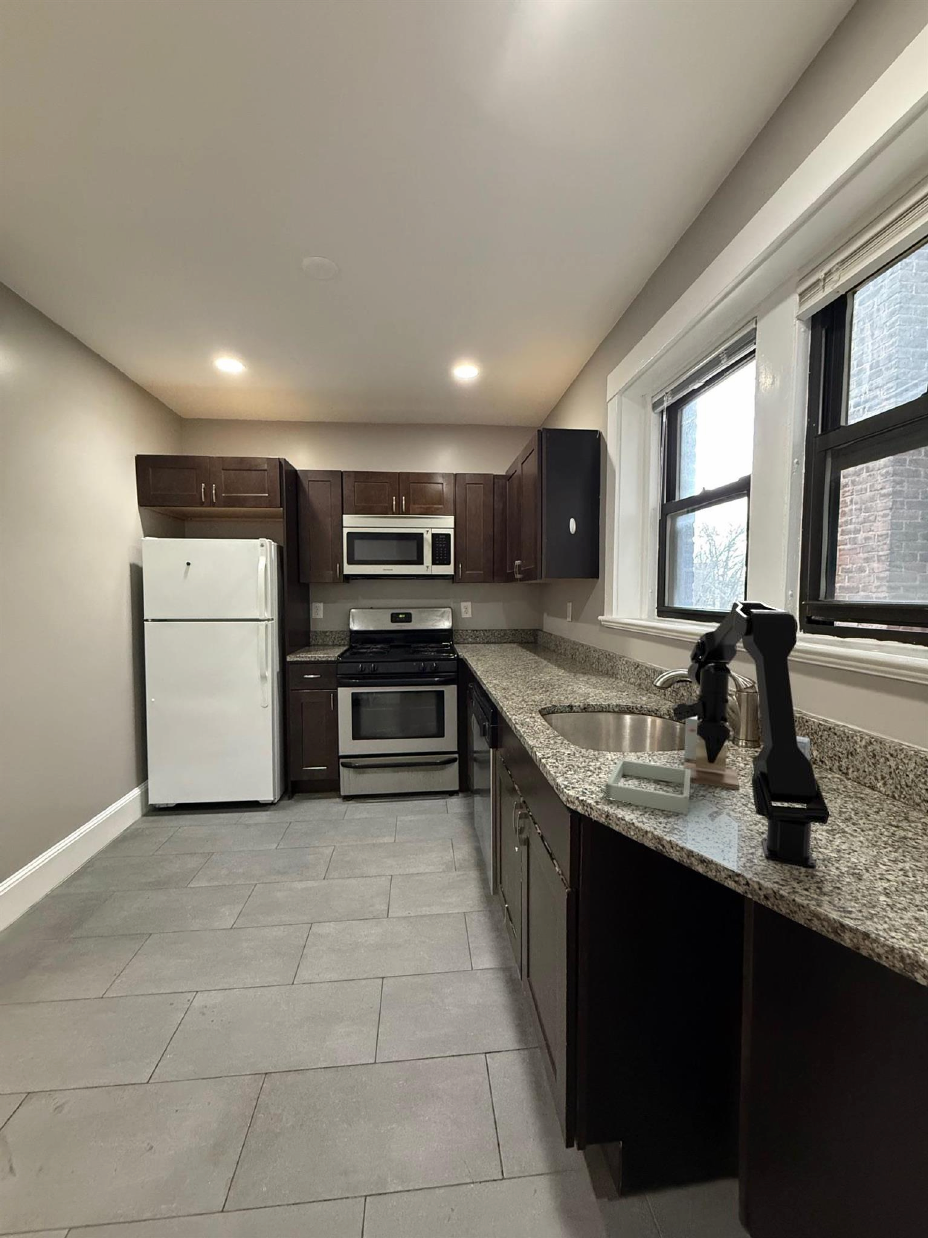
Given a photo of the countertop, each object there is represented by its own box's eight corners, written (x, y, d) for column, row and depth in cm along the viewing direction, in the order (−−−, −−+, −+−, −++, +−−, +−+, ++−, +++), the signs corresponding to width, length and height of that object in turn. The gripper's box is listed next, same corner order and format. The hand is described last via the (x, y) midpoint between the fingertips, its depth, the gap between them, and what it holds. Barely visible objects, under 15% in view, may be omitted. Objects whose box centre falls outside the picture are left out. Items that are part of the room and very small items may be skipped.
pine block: (725, 772, 111) (726, 745, 110) (695, 767, 113) (696, 741, 113) (724, 766, 115) (725, 740, 114) (695, 761, 117) (696, 736, 117)
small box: (721, 758, 128) (723, 717, 127) (718, 764, 123) (720, 722, 123) (687, 753, 132) (688, 713, 132) (683, 758, 127) (685, 717, 127)
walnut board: (739, 789, 107) (739, 785, 107) (682, 780, 111) (683, 776, 111) (736, 774, 117) (736, 769, 117) (684, 766, 121) (684, 762, 121)
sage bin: (688, 814, 94) (688, 798, 93) (605, 799, 100) (606, 784, 100) (690, 783, 110) (690, 769, 110) (618, 771, 116) (619, 759, 116)
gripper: (676, 682, 125) (674, 744, 126) (672, 694, 108) (670, 766, 109) (727, 686, 120) (724, 751, 121) (731, 700, 103) (728, 775, 104)
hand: (710, 760), depth 114 cm, fingers closed on pine block, 4 cm apart
